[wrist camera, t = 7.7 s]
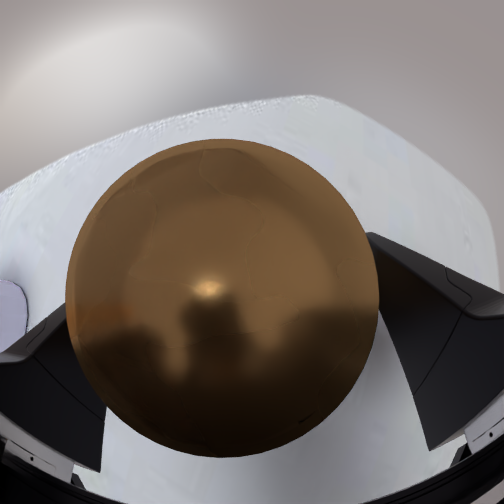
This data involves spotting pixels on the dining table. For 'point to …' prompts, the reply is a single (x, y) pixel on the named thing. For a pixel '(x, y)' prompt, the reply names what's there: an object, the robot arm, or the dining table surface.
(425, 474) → the dining table surface
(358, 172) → the dining table surface
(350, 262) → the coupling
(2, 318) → the soap bottle
